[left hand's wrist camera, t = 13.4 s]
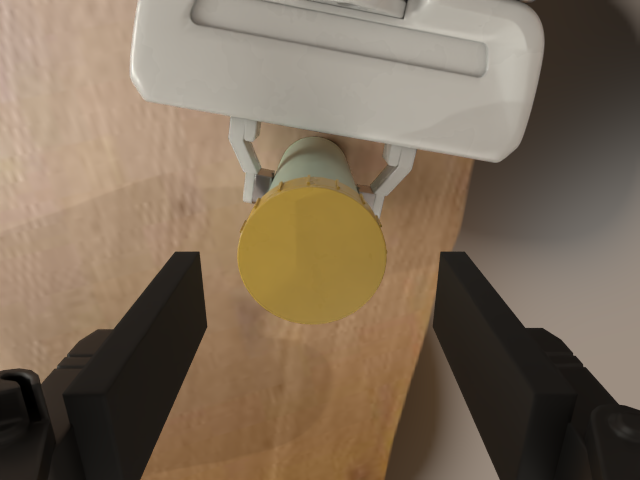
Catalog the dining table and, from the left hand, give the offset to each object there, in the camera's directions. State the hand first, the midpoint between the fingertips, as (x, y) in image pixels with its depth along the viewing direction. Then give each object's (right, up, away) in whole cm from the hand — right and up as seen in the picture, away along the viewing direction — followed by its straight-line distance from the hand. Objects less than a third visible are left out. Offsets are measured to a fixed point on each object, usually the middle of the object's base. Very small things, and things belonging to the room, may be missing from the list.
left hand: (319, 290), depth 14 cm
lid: (0, +1, +3) cm, 3 cm away
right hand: (0, +3, +12) cm, 12 cm away
